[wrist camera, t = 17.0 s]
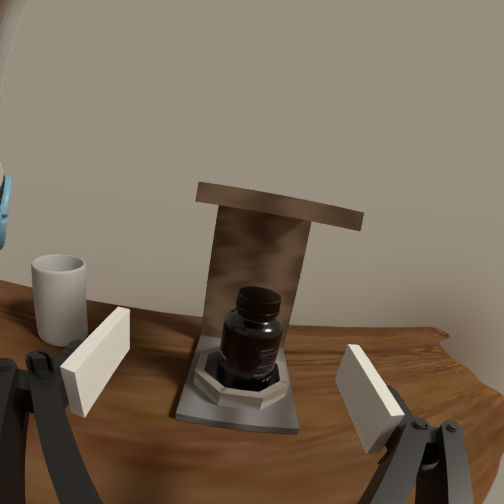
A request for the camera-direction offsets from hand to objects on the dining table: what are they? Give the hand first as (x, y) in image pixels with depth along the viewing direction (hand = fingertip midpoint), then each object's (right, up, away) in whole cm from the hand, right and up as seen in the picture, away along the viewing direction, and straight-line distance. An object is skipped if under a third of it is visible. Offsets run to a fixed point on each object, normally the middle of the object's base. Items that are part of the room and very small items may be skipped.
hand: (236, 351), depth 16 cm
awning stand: (-1, -11, +19) cm, 22 cm away
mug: (-28, -6, +21) cm, 35 cm away
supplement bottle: (0, -11, +18) cm, 20 cm away
